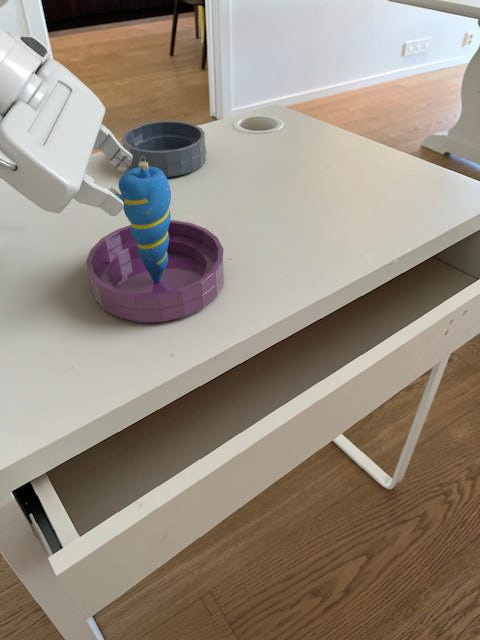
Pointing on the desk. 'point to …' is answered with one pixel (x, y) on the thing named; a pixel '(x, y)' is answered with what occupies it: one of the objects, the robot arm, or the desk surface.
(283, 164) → the desk surface
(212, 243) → the plum bowl
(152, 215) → the ornament
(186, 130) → the grey bowl
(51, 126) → the robot arm
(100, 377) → the desk surface
